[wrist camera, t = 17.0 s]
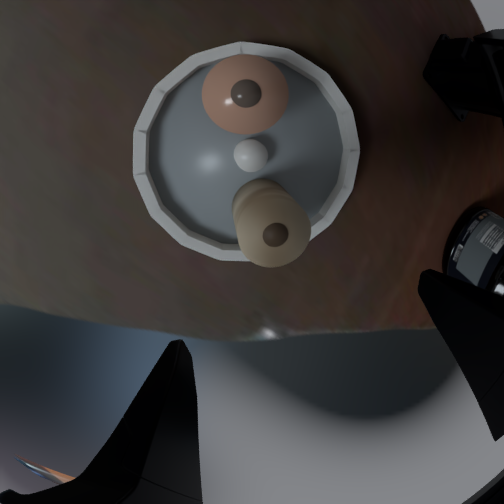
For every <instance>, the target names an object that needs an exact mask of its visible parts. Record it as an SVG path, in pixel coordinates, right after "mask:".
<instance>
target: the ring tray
mask: <svg viewBox="0 0 504 504" xmlns="http://www.w3.org/2000/svg"><path fill="white" fill-rule="evenodd" d="M242 54H249V55H255V56H259V57H262V58H264V59H266V60H268V61H270V62H271V63H273V64H274V65H275V66H276V67H277V68H278V69H279V70H280V71H281V72H282V74H283V75H284V77H285V79H286V82H287V85H288V90H289V99H288V104H287V107H286V110H285V112H284V114H283V115H282V117H281V118H280V119H279V120H278V121H277V122H276V123H275V124H274V125H273V126H271V127H270V128H268V129H266V130H264V131H262V132H259V133H255V134H236V133H232V132H229V131H226V130H224V129H222V128H221V127H219V126H218V125H217V124H215V123H214V122H213V121H212V120H211V118H210V117H209V116H208V114H207V113H206V110H205V108H204V105H203V101H202V87H203V83H204V81H205V78H206V76H207V75H208V73H209V72H210V70H211V69H212V68H213V67H214V66H215V65H216V64H218V63H219V62H221V61H222V60H224V59H226V58H228V57H231V56H235V55H242ZM193 56H194V57H193ZM193 56H190V57H189V58H188V59H187V60H185V61H184V62H183V63H181V64H180V65H179V66H178V67H177V68H175V69H174V70H173V71H172V72H171V73H169V74H168V75H167V76H166V77H165V78H164V79H162V80H161V81H160V82H159V83H158V84H157V85H156V86H155V87H156V88H155V87H154V88H153V90H152V92H151V94H150V96H149V98H148V100H147V102H146V104H145V106H144V108H143V110H142V113H141V115H140V117H139V119H138V121H137V124H136V126H135V128H134V136H133V175H134V176H133V177H134V179H135V181H136V184H137V186H138V189H139V191H140V193H141V196H142V198H143V200H144V202H145V205H146V207H147V209H148V211H149V214H150V215H151V217H152V218H153V219H154V220H155V221H156V222H157V223H159V224H160V225H161V226H162V227H163V228H164V229H165V230H166V231H167V232H168V233H169V234H170V235H171V236H172V237H173V238H174V239H175V240H177V241H178V242H179V243H180V244H182V245H183V246H185V247H188V248H190V249H193V250H195V251H198V252H200V253H203V254H205V255H208V256H210V257H213V258H215V259H218V260H225V261H250V260H249V259H247V257H246V256H245V255H244V254H243V253H242V251H241V249H240V246H239V243H238V238H237V233H236V229H235V224H234V219H233V215H232V201H233V198H234V196H235V194H236V192H237V191H238V189H239V188H240V187H241V186H243V185H244V184H245V183H247V182H249V181H251V180H254V179H262V178H264V179H270V180H273V181H275V182H277V183H279V184H280V185H281V186H282V187H283V188H284V189H285V190H286V191H287V192H288V193H289V194H290V195H291V196H292V198H293V199H294V200H295V201H296V202H297V203H298V204H299V205H300V206H301V207H302V209H303V210H304V211H305V212H306V214H307V215H308V217H309V220H310V223H311V236H310V240H311V239H313V238H314V237H315V236H316V235H318V234H319V233H320V232H322V231H323V230H324V229H325V228H327V227H328V226H329V225H331V224H330V223H332V222H333V220H334V219H335V217H336V216H337V214H338V213H339V211H340V209H341V208H342V206H343V205H344V203H345V201H346V200H347V198H348V197H349V195H350V193H351V192H352V190H353V185H354V181H355V176H356V171H357V166H358V160H359V155H360V151H359V150H360V145H359V140H358V135H357V129H356V124H355V120H354V115H353V110H351V109H352V108H351V107H350V105H349V103H348V102H347V100H346V99H345V97H344V96H343V94H342V93H341V91H340V90H339V88H338V87H337V86H336V84H335V83H334V81H333V80H332V78H331V77H330V76H329V74H327V72H325V71H324V70H322V69H321V68H319V67H318V66H316V65H315V64H313V63H311V62H310V61H308V60H307V59H305V58H304V57H302V56H300V55H299V54H297V53H295V52H294V51H292V50H290V49H288V48H283V47H277V46H271V45H264V44H257V43H249V42H241V43H240V42H236V43H232V44H228V45H224V46H221V47H217V48H213V49H210V50H206V51H203V52H200V53H197V54H194V55H193ZM310 240H309V241H310Z"/></svg>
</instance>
